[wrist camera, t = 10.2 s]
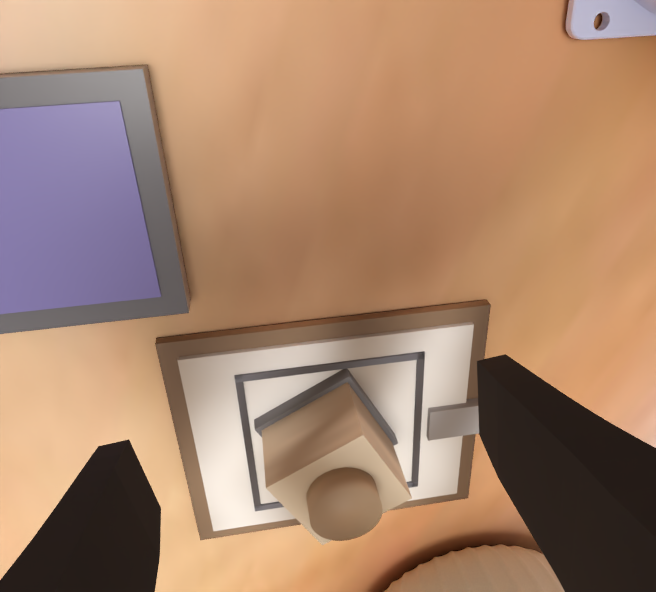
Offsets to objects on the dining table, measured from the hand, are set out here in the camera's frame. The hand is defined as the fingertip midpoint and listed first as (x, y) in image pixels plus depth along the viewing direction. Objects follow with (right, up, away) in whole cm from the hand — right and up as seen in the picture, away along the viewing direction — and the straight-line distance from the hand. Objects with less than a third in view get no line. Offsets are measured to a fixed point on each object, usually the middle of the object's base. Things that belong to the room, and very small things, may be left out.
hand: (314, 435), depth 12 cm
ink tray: (-10, +6, +6) cm, 13 cm away
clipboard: (0, -3, +13) cm, 13 cm away
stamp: (0, -3, +12) cm, 12 cm away
